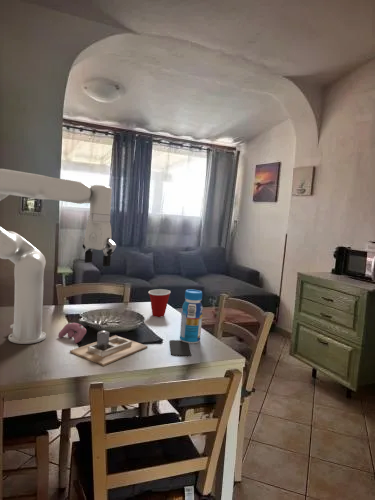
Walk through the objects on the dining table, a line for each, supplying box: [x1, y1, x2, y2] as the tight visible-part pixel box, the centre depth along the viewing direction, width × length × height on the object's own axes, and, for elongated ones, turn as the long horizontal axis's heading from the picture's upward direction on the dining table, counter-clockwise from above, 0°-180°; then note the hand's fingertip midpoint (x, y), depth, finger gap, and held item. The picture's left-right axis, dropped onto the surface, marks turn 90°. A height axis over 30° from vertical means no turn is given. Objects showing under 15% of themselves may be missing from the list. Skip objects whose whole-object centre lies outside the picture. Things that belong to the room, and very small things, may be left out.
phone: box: [169, 339, 192, 357], centre depth 139 cm, size 7×1×15 cm
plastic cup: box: [148, 288, 171, 318], centre depth 179 cm, size 11×11×12 cm
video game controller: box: [57, 322, 87, 344], centre depth 139 cm, size 10×5×7 cm, turn 61°
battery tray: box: [69, 334, 148, 367], centre depth 132 cm, size 16×22×2 cm
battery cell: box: [96, 330, 110, 351], centre depth 128 cm, size 4×4×7 cm
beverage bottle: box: [179, 288, 204, 344], centre depth 147 cm, size 8×8×20 cm
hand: (97, 264), depth 141 cm, fingers open, 9 cm apart
